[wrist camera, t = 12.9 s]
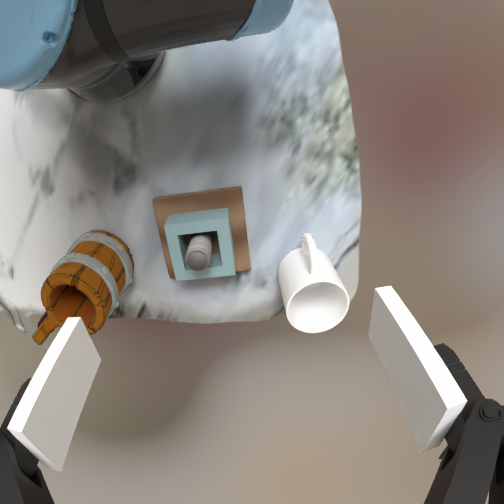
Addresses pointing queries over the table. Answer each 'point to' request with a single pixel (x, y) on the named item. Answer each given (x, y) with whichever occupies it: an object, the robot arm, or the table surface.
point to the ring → (200, 223)
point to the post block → (205, 242)
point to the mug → (86, 283)
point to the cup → (311, 289)
